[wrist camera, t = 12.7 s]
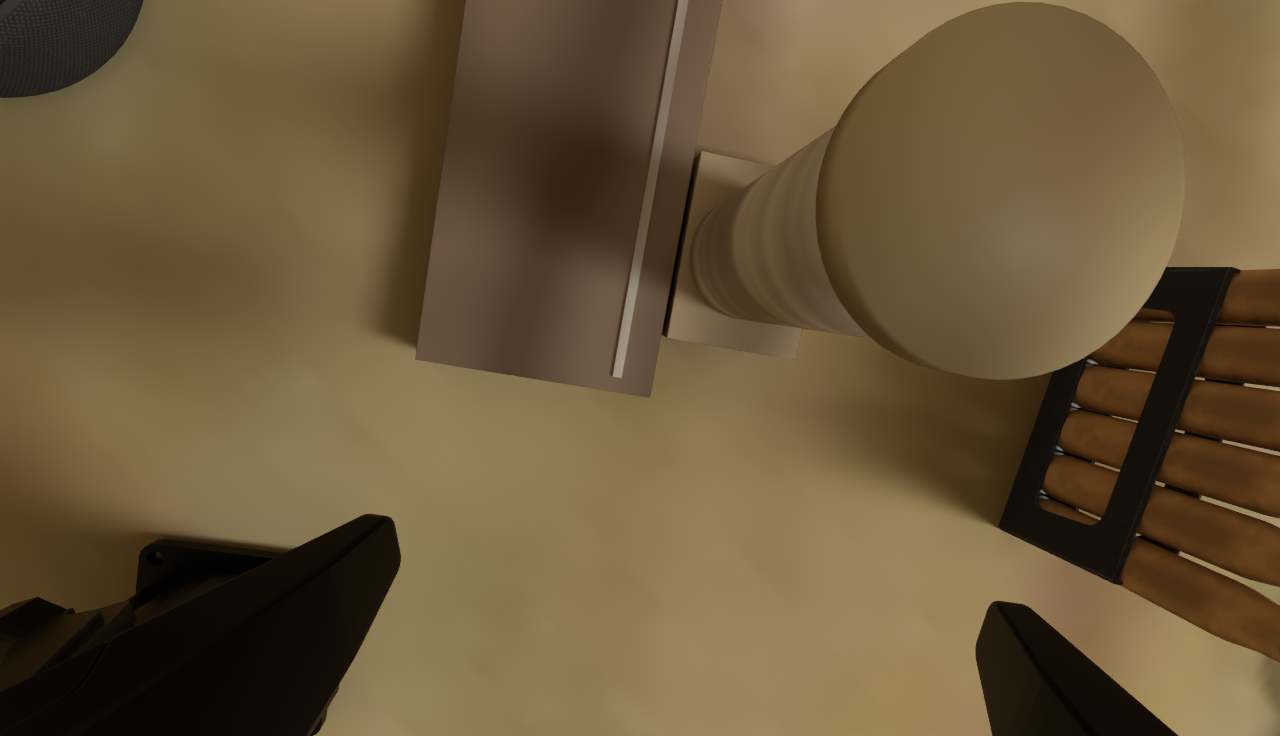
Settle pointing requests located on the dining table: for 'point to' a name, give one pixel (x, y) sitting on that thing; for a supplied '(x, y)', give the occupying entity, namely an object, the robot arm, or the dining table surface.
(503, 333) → the walnut plank
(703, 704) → the dining table surface
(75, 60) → the smart speaker
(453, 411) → the dining table surface
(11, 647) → the robot arm
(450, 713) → the dining table surface
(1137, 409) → the ammunition clip
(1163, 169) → the beige round-topped column
